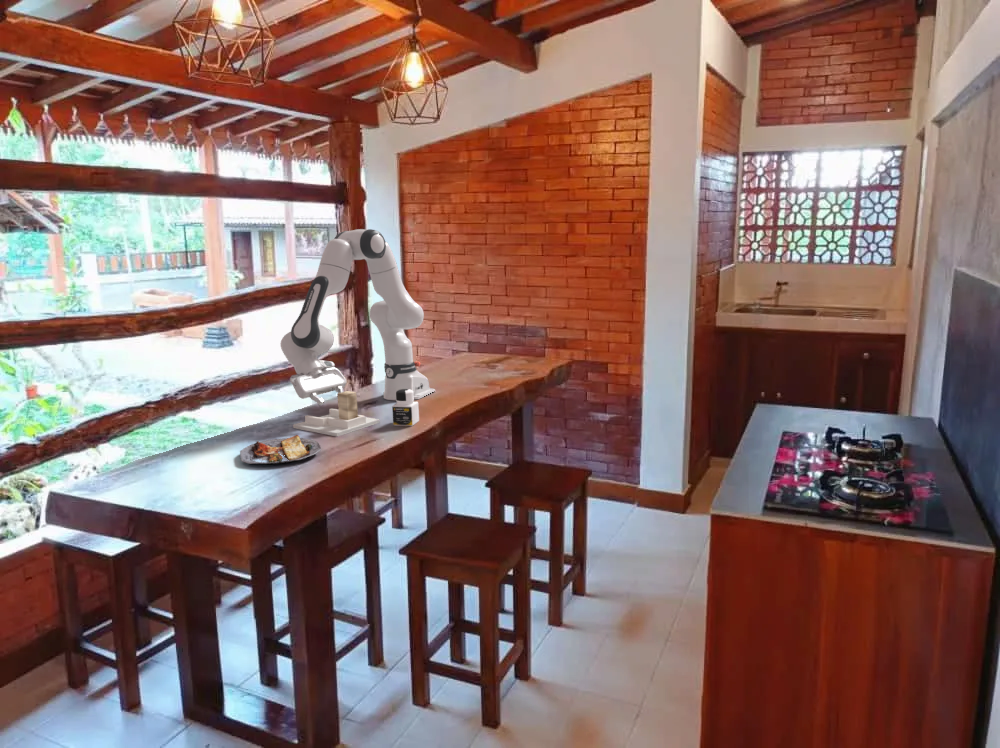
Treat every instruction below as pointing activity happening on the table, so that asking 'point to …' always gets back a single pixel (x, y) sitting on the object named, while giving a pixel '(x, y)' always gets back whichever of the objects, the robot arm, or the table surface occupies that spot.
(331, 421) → the keyhole dock
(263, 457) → the food plate
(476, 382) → the table surface
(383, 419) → the table surface
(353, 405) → the beech peg
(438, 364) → the table surface
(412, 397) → the medicine bottle
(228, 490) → the table surface
